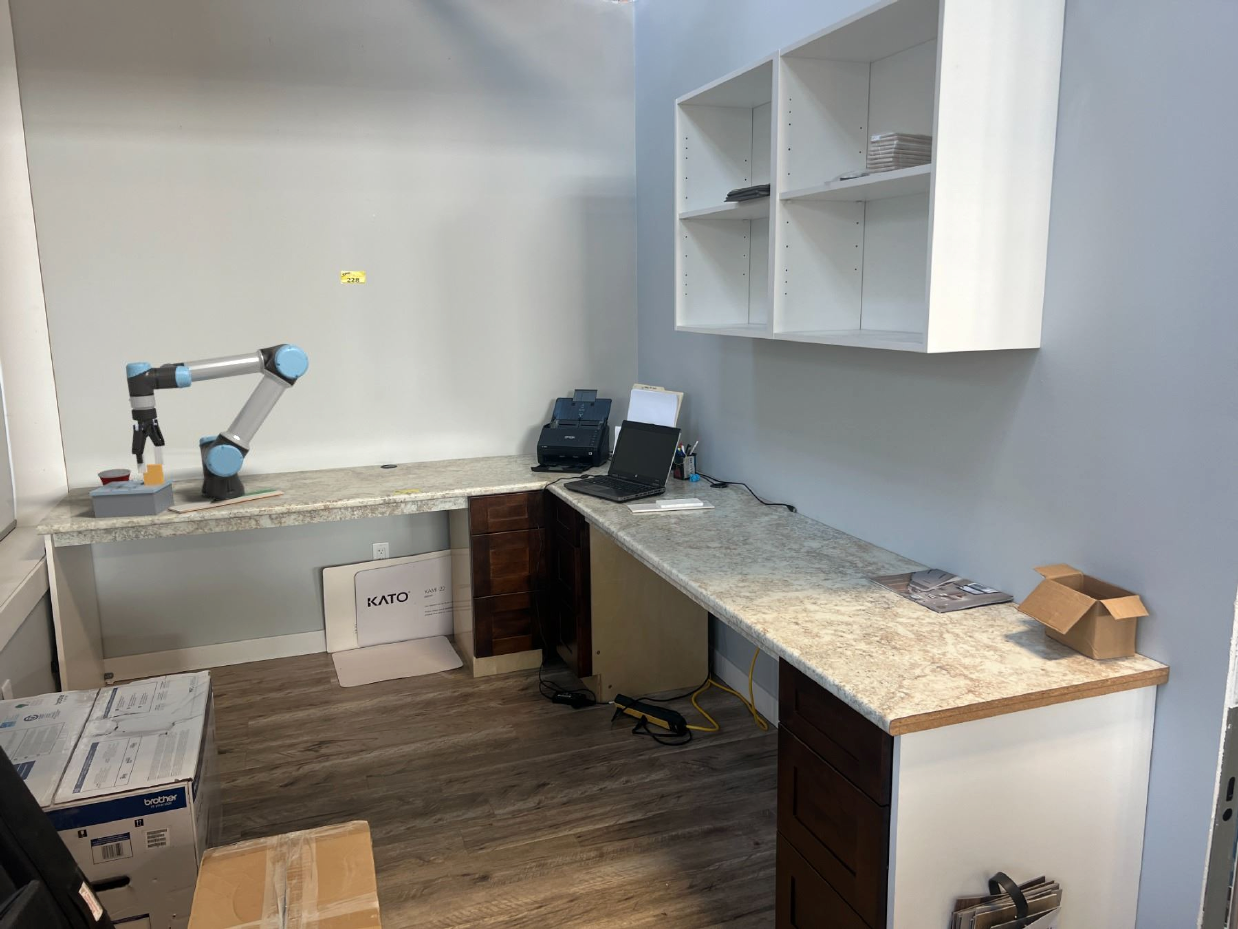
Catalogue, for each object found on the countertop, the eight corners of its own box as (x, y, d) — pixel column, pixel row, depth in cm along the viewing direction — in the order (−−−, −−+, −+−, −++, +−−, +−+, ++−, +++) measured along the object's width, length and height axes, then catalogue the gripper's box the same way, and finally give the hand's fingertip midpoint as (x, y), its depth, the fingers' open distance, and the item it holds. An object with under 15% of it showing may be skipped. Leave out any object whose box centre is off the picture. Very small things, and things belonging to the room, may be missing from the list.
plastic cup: (105, 508, 315) (100, 476, 312) (99, 503, 323) (94, 471, 320) (139, 503, 322) (134, 471, 319) (131, 498, 330) (127, 467, 327)
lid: (173, 482, 312) (170, 459, 311) (154, 492, 297) (150, 469, 295) (110, 485, 311) (107, 462, 309) (87, 495, 295) (84, 472, 293)
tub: (174, 507, 314) (171, 483, 312) (156, 517, 299) (153, 493, 297) (116, 509, 312) (113, 485, 310) (96, 520, 298) (92, 495, 296)
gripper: (148, 403, 310) (155, 461, 315) (114, 413, 286) (123, 476, 290) (170, 402, 311) (177, 461, 315) (138, 412, 287) (146, 475, 291)
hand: (151, 468), depth 303 cm, fingers open, 13 cm apart
